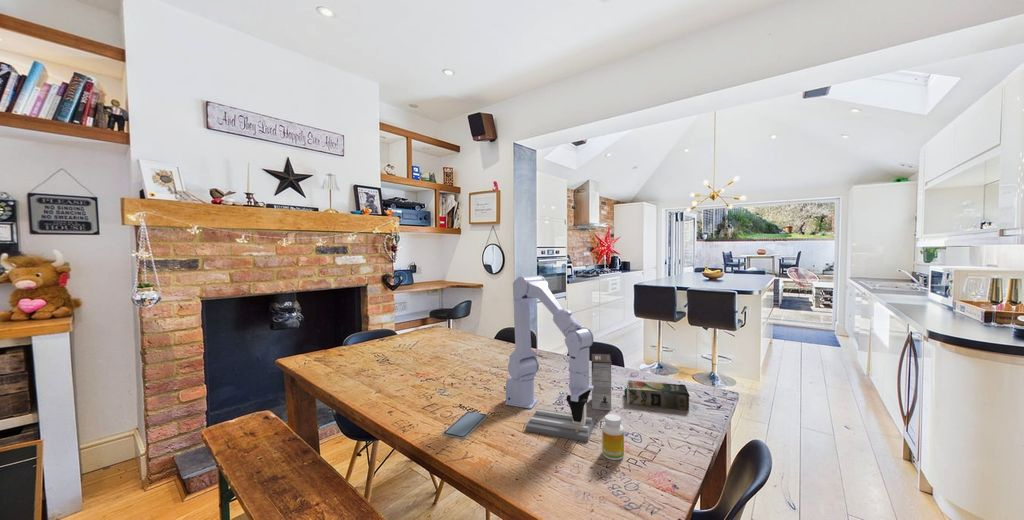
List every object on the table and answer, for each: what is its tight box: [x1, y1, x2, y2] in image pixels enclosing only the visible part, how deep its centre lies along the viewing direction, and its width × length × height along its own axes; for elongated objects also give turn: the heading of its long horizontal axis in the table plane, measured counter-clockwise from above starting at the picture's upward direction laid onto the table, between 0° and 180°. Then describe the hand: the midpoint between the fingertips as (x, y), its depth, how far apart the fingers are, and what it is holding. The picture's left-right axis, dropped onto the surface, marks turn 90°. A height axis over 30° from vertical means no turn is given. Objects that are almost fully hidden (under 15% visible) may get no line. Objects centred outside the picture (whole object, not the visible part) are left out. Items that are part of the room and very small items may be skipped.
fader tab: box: [572, 403, 587, 426], centre depth 107 cm, size 3×4×6 cm
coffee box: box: [591, 353, 612, 411], centre depth 124 cm, size 9×6×16 cm
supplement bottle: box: [601, 413, 625, 461], centre depth 93 cm, size 5×5×10 cm
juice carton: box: [623, 379, 690, 411], centre depth 126 cm, size 20×10×6 cm, turn 73°
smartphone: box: [442, 410, 488, 440], centre depth 110 cm, size 7×1×15 cm
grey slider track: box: [525, 408, 596, 443], centre depth 109 cm, size 18×12×2 cm, turn 69°
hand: (579, 416), depth 107 cm, fingers open, 6 cm apart
